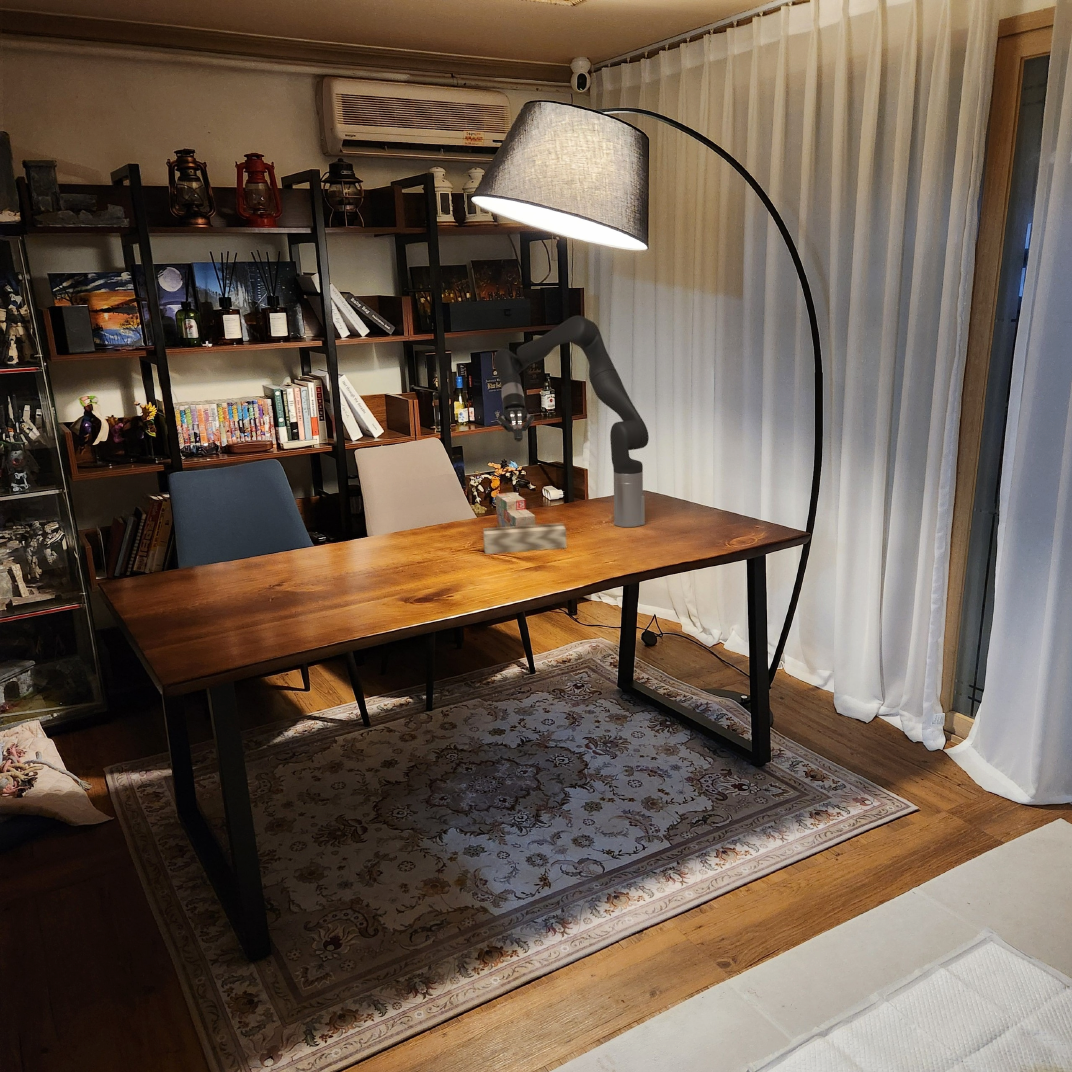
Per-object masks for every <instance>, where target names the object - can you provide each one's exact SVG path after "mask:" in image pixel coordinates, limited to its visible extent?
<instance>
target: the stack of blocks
mask: <svg viewBox="0 0 1072 1072" xmlns="http://www.w3.org/2000/svg"><path fill="white" fill-rule="evenodd" d="M494 497H495V508H496V525H497V527H511V526H526V525H536V515H535V514H533V513H532V512H531V511H529V510H527V508H526V499H525V498H524V497H522V496H520V495H519V494H517V493H516V492H502V493H496V494H495V496H494ZM497 527H496V528H497Z"/></svg>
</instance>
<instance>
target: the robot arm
mask: <svg viewBox="0 0 1072 1072" xmlns="http://www.w3.org/2000/svg"><path fill="white" fill-rule="evenodd" d="M567 343H571V344H573V345H575V346H577V347H579V348H580V349H581V351H582V352H583V353H584V355H585V358H586V359H587V361H588V364H589V367H588V369H589V370H588V379H589V383H590V384H591V387H592V389H593V391H594V393H595V395H596V397H597V398H598V399H599V401H601V403H602V404H604V405H606V407H608V408H609V409H611V411H613V412H615V413H616V414H617V415H618V416H619V418H620V419H621V421H616V422H614V423H613V424H612V426H611V428H610V434H609V437H610V451H611V452H610V455H611V463H612V466H613V520H614V522H613V525H615V526H616V527H622V528H636V527H639V526H645V525H646V524H645V521H646V518H645V517H646V513H645V512H646V509H645V508H646V506H645V505H646V504H645V503H646V500H645V498H646V497H645V495H644V491H643V490H644V489H643V488H644V487H643V486H644V485H643V484H644V481H643V479H644V478H643V477H644V476H643V475H644V474H643V473H644V472H643V471H644V469H643V468H644V467H643V462H642V461H640V460H637V459H633V458H631V456H630V452H629V451H632V450H633V451H634V450H640V449H643V448H645V447H646V446H647V445H648V443H649V439H650V438H649V431H648V427H647V426H646V423H645V422H644V420H643V418H642V417H641V415H640V413H639V412H638V410H637V408H636V407H635V405H634V404H633V402H632V400H631V398H630V396H629V395H628V393H627V390H626V389H625V386H624V384H623V382H622V379H621V377H620V375H619V373H618V371H617V369H616V368H615V365H614V363H613V361H612V359H611V357H610V355H609V353H608V351H607V348H606V346H605V343H604V340H603V337H602V335H601V331H600V329H599V327H598V325H597V324H596V323H595V322H594V321H592V320H591V319H588V318H587V317H584V316H582V315H573V316H571V317H569V318H567V319H565V320H564V321H563V322H562V323H560V324H558V325H557V326H556V327H554V328H553V329H551V330H549V331H548V332H546V333H545V334H543V335H542V336H540V337H538V338H535V339H533V340H531V341H529V342H526V343H524V344H522V345H520V346H518V347H517V349H516V354H514V352H512V351H510V350H509V349H506V348H501V349H498V350H497V351H496V353H495V354H494V356H493V365H494V369H495V371H496V374H497V376H498V378H499V381H500V388H501V400H502V401H501V402H502V411H503V413H502V416H498V417H497V424H498V425H499V426H500V427H502V428H503V429H504V431H505V430H506V431H507V433H513V439H514V441H515V442H522V441H523V437H524V436H523V432H527V430H528V429H529V428H530V426H531V425H532V424H533V423H534V420H535V415H534V414H529V412H528V411H527V409H526V404H525V403H526V402H525V394H524V391H523V388H522V380H521V376H520V373H521V372H522V371H524V370H525V369H526V368H527V367H528V366H529V365H531V364H534V363H536V362H539V361H541V360H542V359H545V358H546V357H547V356H548V355H549V354H550V353H551V352H552V351H553V350H554V349H555V348H556V347H558V346H560V345H564V344H567ZM525 420H526V421H525ZM524 421H525V422H524ZM523 423H524V424H523ZM522 424H523V425H522Z"/></svg>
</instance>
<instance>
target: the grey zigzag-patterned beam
mask: <svg viewBox="0 0 1072 1072" xmlns="http://www.w3.org/2000/svg"><path fill="white" fill-rule="evenodd" d="M482 533H483V536H482V538H483V551H484V554H485V555H491V554H493V555H494V554H506V553H507V552H509V553H518V552H519V551H523V552H530V551H529V550H536V551H542V550H541V549H550V550H562V549H563V548H564V549H567V528H566V527H565V523H564V522H557V523H545V524H535V525H526V526H511V527H486V528H484V527H483V528H482ZM507 554H508V553H507Z"/></svg>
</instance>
